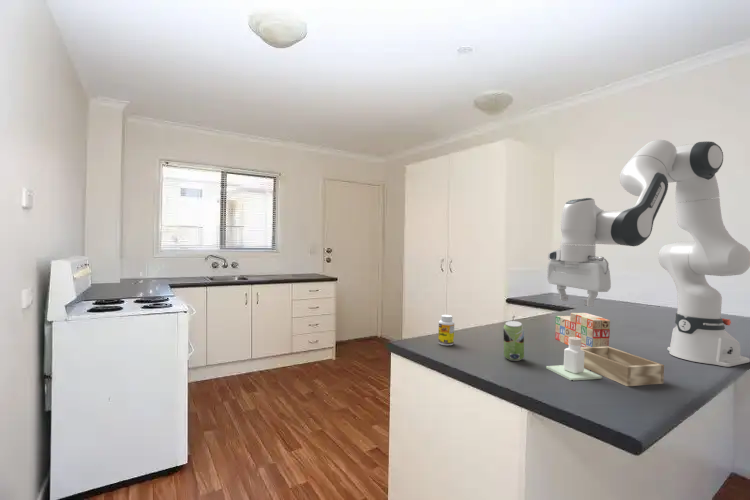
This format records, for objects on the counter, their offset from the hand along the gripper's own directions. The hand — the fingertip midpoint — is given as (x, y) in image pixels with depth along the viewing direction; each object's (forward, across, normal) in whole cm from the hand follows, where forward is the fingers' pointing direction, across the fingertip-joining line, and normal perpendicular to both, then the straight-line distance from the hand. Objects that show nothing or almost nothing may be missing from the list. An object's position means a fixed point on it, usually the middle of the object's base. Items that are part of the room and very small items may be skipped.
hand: (575, 303), depth 106 cm
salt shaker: (+20, 0, 0) cm, 20 cm away
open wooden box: (+20, -2, -13) cm, 24 cm away
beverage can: (+20, +14, +10) cm, 27 cm away
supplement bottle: (+20, +34, +24) cm, 46 cm away
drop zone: (+20, 0, 0) cm, 20 cm away
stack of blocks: (+20, +24, -24) cm, 39 cm away
